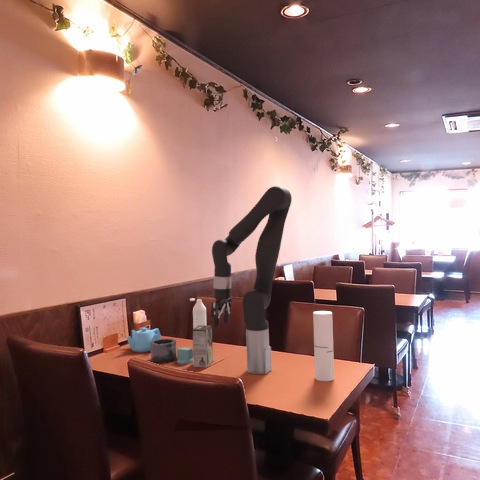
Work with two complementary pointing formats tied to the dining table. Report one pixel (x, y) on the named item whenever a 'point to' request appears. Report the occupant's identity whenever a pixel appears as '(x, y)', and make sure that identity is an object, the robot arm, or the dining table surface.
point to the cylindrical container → (323, 345)
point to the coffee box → (202, 346)
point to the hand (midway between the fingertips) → (221, 324)
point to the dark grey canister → (163, 350)
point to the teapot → (143, 339)
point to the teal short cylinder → (184, 355)
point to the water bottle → (199, 313)
